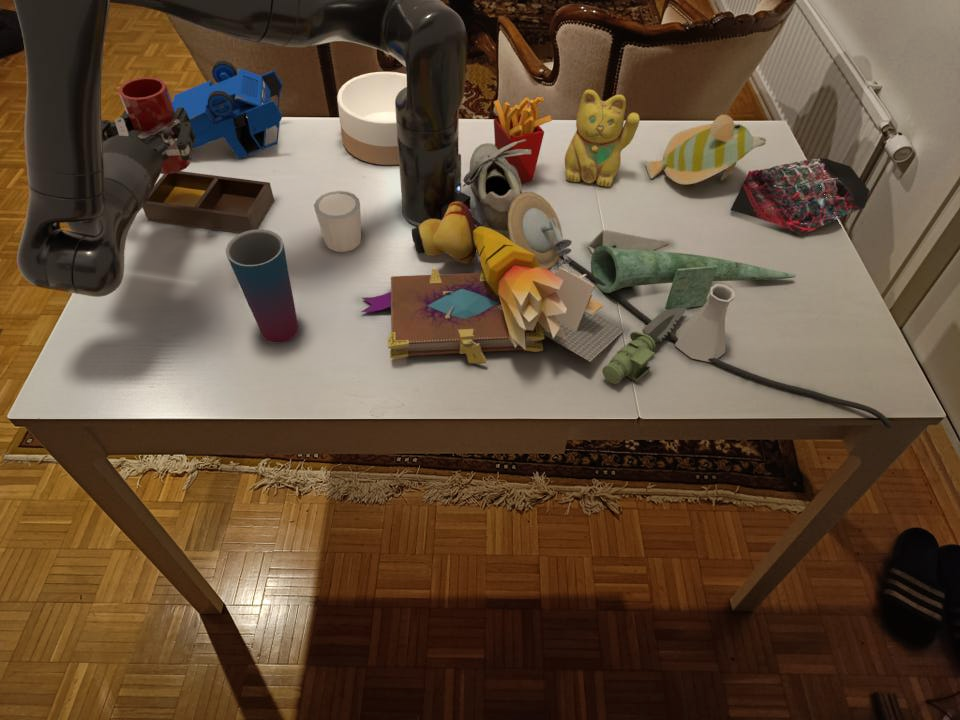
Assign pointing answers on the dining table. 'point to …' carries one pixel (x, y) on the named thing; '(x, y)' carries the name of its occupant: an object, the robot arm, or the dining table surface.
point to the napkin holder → (581, 318)
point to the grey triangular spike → (624, 241)
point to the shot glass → (339, 220)
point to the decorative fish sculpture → (705, 151)
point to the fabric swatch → (801, 194)
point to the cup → (265, 282)
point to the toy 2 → (537, 229)
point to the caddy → (209, 201)
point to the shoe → (495, 183)
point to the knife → (641, 348)
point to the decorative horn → (671, 273)
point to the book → (447, 317)
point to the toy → (448, 234)
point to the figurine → (599, 139)
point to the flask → (706, 327)
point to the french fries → (520, 134)
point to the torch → (519, 285)
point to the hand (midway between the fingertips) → (159, 112)
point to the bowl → (371, 116)
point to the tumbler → (151, 112)
